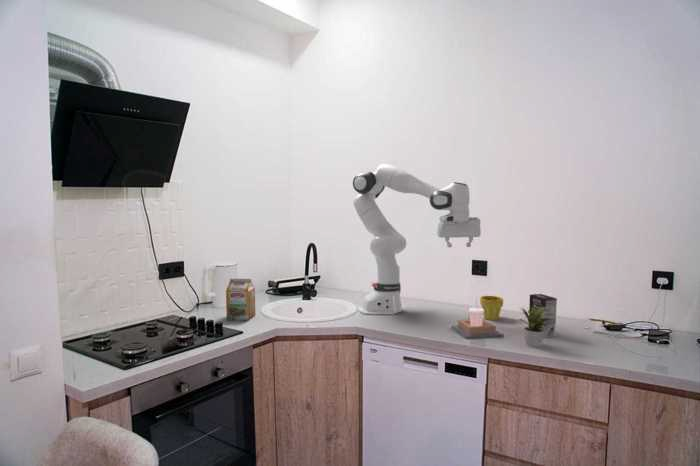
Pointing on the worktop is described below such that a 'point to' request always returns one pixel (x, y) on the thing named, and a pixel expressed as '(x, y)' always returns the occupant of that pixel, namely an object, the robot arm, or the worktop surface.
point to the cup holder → (476, 330)
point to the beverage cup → (476, 316)
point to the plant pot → (491, 306)
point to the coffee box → (545, 311)
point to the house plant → (534, 327)
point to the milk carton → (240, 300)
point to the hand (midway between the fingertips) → (458, 246)
